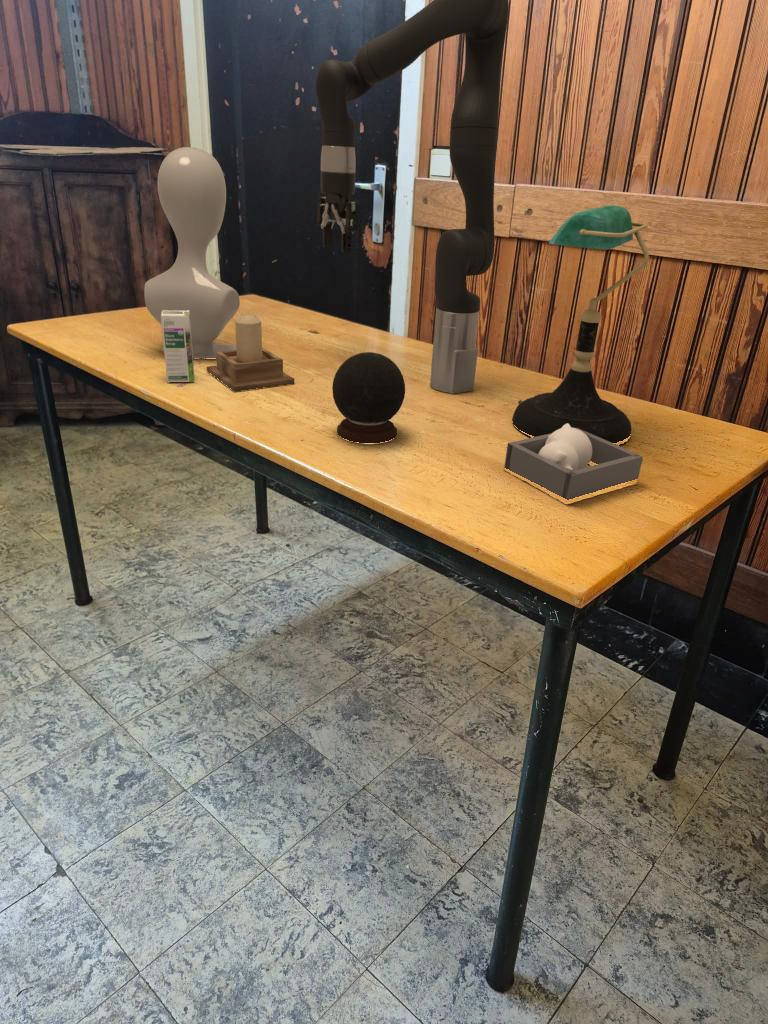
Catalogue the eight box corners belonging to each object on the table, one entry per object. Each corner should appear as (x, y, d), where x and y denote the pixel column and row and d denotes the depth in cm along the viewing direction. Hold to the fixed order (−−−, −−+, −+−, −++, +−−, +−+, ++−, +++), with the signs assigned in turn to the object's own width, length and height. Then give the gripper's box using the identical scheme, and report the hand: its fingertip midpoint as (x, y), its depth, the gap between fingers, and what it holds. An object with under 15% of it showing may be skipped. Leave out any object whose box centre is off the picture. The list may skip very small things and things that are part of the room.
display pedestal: (294, 384, 154) (294, 361, 152) (234, 392, 147) (233, 368, 145) (263, 365, 166) (263, 344, 164) (206, 371, 159) (205, 350, 157)
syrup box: (166, 383, 150) (160, 314, 143) (168, 375, 155) (161, 308, 148) (194, 383, 151) (188, 315, 145) (194, 375, 156) (189, 308, 150)
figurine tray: (636, 484, 116) (643, 456, 114) (566, 505, 108) (572, 475, 105) (572, 453, 126) (577, 427, 124) (503, 470, 118) (507, 442, 116)
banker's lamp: (533, 399, 154) (564, 199, 135) (641, 420, 145) (690, 210, 126) (492, 435, 132) (522, 205, 114) (615, 463, 124) (670, 218, 105)
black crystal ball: (413, 429, 134) (418, 350, 127) (384, 452, 123) (389, 368, 116) (351, 416, 138) (353, 340, 131) (318, 437, 127) (319, 355, 120)
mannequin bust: (257, 345, 181) (251, 150, 161) (228, 366, 164) (217, 149, 143) (177, 337, 184) (161, 144, 163) (140, 357, 166) (116, 143, 146)
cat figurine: (564, 435, 108) (586, 412, 117) (505, 455, 115) (530, 431, 124) (585, 486, 110) (606, 459, 119) (526, 502, 116) (550, 476, 125)
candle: (236, 363, 152) (234, 316, 147) (237, 356, 157) (235, 311, 152) (262, 363, 153) (261, 317, 148) (262, 356, 158) (260, 311, 153)
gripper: (370, 172, 149) (367, 253, 156) (336, 168, 159) (335, 244, 167) (339, 171, 145) (338, 254, 152) (307, 167, 155) (307, 245, 163)
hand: (336, 249), depth 159 cm, fingers open, 8 cm apart
